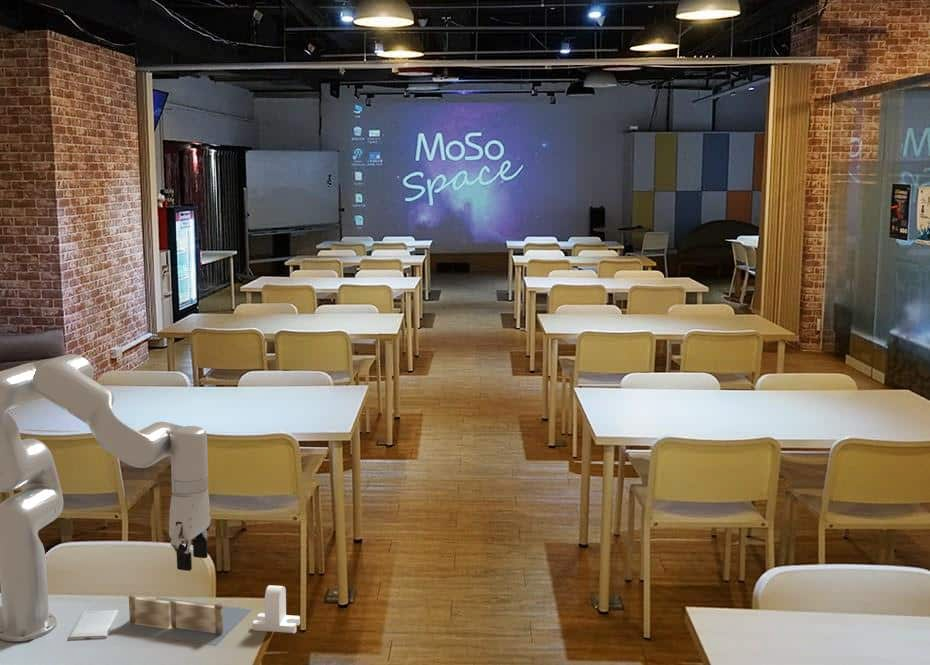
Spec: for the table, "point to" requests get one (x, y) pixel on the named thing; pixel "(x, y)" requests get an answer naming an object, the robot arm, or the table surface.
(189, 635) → the card
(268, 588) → the cable organizer
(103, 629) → the hard drive
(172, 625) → the fence swing panel
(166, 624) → the fence fixed section
